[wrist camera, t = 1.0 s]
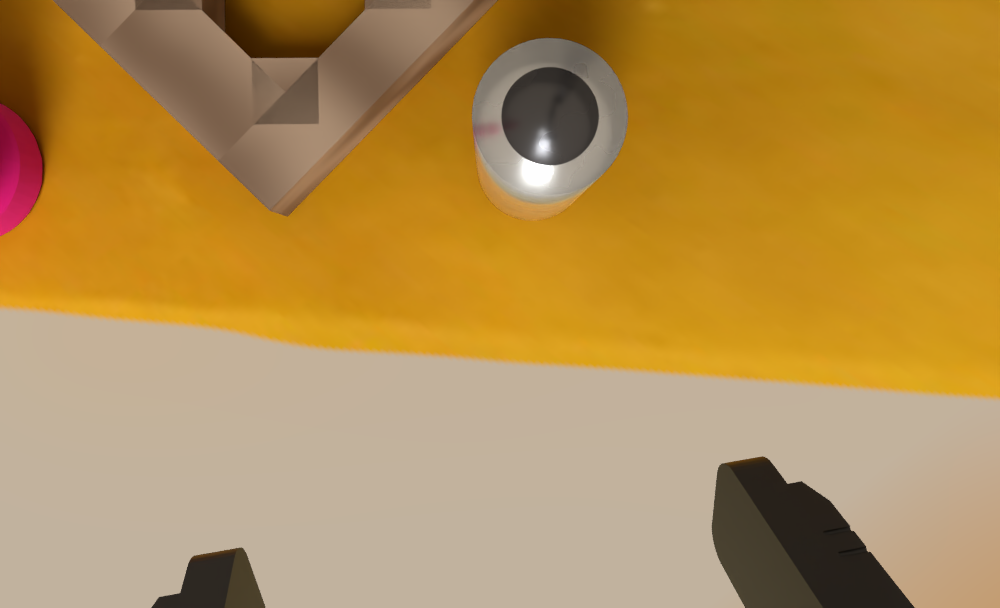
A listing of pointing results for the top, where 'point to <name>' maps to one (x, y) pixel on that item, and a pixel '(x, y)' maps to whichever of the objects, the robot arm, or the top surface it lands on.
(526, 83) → the bushing
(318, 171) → the frame
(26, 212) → the pepper mill
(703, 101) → the top surface
